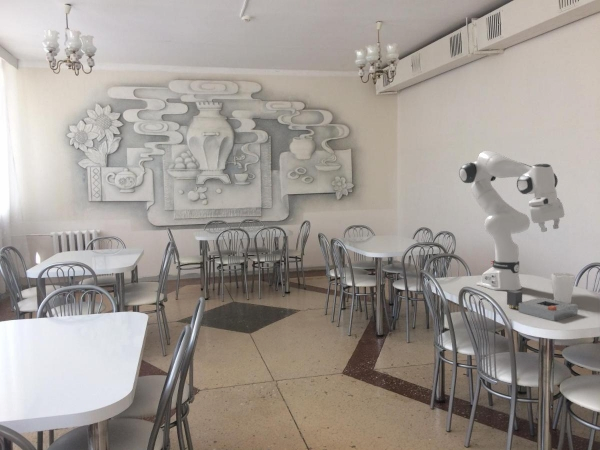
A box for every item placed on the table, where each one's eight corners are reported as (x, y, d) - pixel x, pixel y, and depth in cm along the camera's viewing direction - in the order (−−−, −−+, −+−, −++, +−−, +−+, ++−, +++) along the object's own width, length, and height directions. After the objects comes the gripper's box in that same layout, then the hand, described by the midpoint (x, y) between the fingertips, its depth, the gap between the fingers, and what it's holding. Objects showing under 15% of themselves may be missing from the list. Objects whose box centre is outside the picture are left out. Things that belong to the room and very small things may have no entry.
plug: (506, 307, 214) (507, 291, 214) (513, 306, 216) (513, 289, 216) (515, 309, 211) (515, 293, 210) (522, 308, 213) (522, 291, 212)
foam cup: (564, 306, 213) (564, 277, 212) (546, 302, 221) (546, 274, 220) (579, 303, 217) (579, 275, 216) (560, 299, 225) (561, 272, 224)
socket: (518, 312, 207) (518, 300, 207) (541, 306, 215) (542, 295, 215) (554, 320, 193) (554, 308, 193) (577, 314, 201) (577, 302, 201)
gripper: (552, 197, 224) (556, 227, 224) (526, 202, 213) (530, 233, 213) (565, 196, 218) (569, 226, 219) (539, 201, 208) (544, 233, 208)
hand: (550, 230), depth 216 cm, fingers open, 8 cm apart
